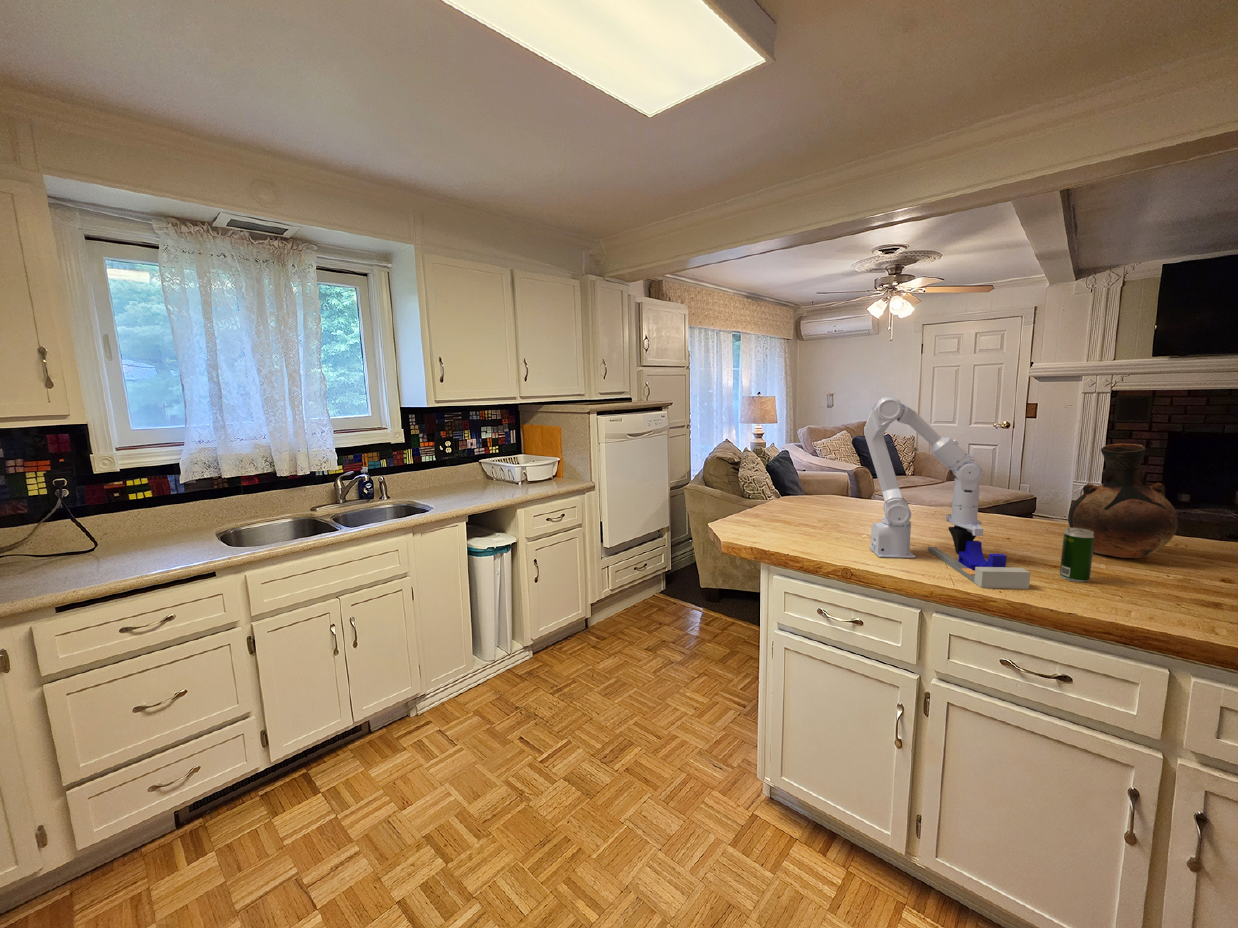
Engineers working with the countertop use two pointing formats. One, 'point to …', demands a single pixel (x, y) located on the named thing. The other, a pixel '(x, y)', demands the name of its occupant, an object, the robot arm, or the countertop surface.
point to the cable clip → (979, 557)
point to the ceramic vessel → (1125, 507)
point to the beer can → (1077, 554)
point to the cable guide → (988, 573)
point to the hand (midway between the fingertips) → (961, 554)
